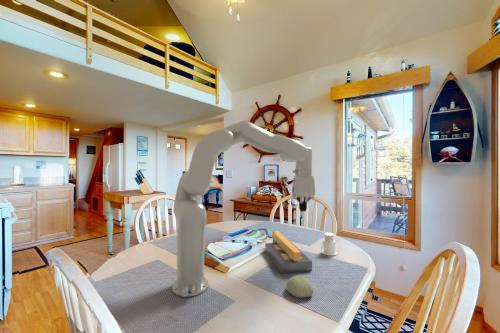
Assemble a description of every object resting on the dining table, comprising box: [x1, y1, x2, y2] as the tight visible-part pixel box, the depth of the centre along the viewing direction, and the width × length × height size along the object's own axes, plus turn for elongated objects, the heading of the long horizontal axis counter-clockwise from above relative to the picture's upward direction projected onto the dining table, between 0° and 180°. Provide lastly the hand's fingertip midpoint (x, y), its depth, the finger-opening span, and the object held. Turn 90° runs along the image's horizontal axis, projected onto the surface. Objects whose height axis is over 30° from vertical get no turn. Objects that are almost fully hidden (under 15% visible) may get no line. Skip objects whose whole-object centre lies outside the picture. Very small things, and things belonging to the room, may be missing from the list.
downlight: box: [320, 232, 339, 256], centre depth 114 cm, size 8×7×10 cm
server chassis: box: [264, 238, 313, 274], centre depth 107 cm, size 30×14×5 cm, turn 12°
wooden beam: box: [271, 230, 302, 261], centre depth 107 cm, size 30×4×4 cm, turn 12°
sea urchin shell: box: [285, 275, 314, 299], centre depth 78 cm, size 9×8×8 cm
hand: (302, 210), depth 106 cm, fingers closed
